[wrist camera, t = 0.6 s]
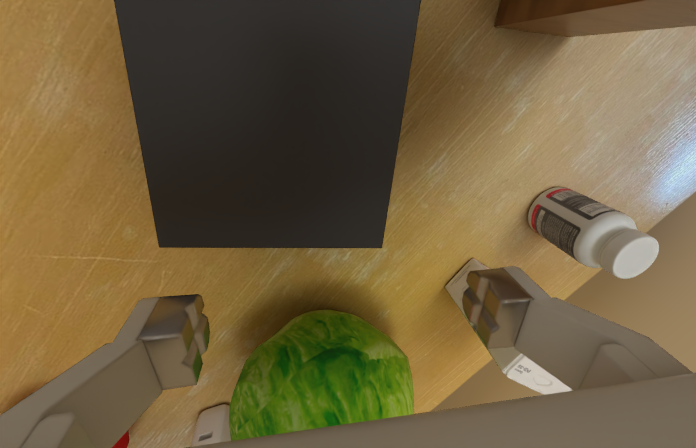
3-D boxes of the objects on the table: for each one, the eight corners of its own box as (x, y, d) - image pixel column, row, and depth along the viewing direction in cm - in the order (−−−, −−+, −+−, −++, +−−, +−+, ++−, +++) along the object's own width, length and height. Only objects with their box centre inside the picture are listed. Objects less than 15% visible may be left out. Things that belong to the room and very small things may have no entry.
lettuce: (335, 398, 45) (437, 481, 34) (182, 471, 30) (276, 654, 20) (358, 278, 43) (471, 324, 33) (207, 292, 29) (324, 386, 18)
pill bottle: (548, 239, 36) (628, 294, 28) (516, 219, 34) (591, 272, 26) (583, 199, 35) (681, 244, 26) (551, 176, 33) (645, 217, 24)
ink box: (519, 286, 39) (603, 369, 28) (490, 314, 40) (560, 403, 30) (471, 255, 36) (546, 335, 25) (442, 287, 37) (501, 375, 27)
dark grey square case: (168, -24, 21) (100, -71, 14) (382, 6, 24) (424, -20, 16) (194, 197, 28) (158, 247, 21) (359, 202, 31) (382, 248, 23)
